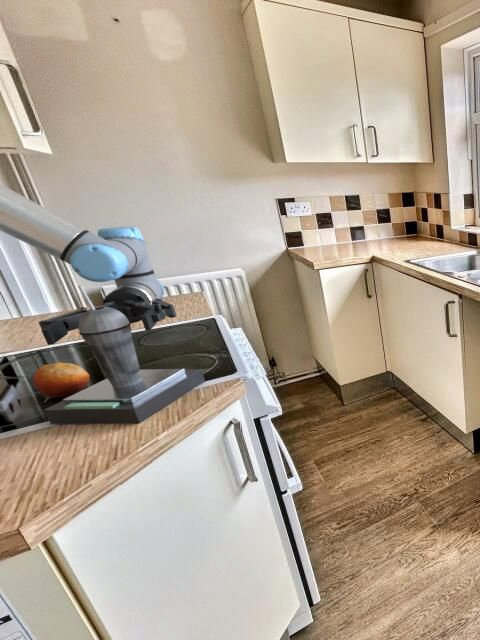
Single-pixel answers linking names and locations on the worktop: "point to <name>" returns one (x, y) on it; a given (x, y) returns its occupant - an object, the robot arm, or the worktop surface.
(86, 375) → the fruit
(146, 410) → the scale
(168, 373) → the scale pan
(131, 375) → the beverage cup
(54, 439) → the worktop surface
